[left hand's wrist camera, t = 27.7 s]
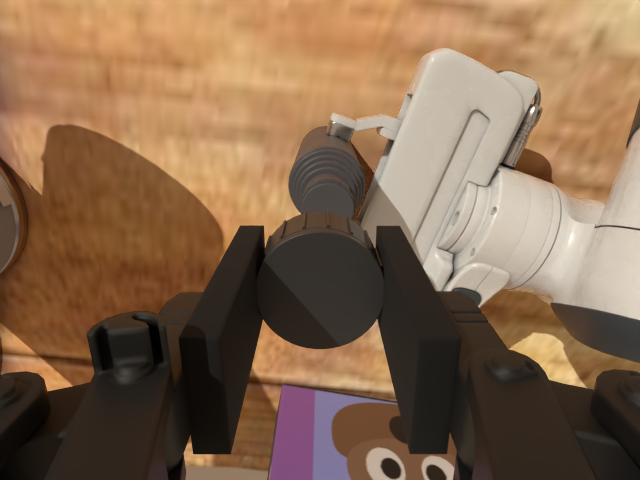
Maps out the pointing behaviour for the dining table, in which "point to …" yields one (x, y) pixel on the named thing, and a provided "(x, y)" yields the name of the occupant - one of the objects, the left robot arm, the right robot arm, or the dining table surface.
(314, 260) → the cap
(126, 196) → the dining table surface
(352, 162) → the bottle
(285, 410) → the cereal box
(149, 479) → the left robot arm
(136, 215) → the dining table surface
